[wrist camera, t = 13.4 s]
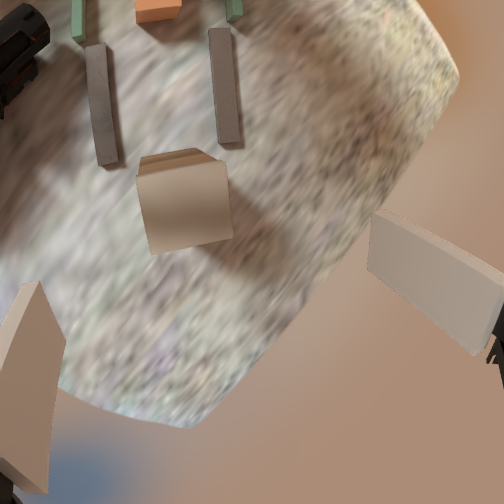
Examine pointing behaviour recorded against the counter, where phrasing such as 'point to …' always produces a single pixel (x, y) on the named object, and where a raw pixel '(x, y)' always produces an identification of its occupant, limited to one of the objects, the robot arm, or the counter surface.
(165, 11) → the orange cubic piece
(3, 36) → the tool
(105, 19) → the counter surface
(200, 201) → the light brown tall block
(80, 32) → the green u-shaped frame
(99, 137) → the slot rails
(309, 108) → the counter surface
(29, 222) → the counter surface
